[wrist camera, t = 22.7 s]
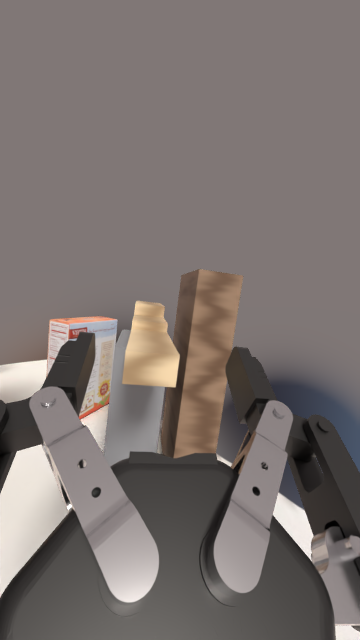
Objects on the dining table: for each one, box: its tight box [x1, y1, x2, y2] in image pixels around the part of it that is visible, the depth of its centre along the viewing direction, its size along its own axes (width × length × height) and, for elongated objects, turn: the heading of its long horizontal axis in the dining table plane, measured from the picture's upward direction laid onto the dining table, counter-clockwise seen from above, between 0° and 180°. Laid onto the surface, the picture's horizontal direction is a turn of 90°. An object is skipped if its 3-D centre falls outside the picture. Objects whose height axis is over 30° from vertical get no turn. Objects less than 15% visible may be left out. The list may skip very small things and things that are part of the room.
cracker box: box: [46, 316, 117, 419], centre depth 53 cm, size 14×6×21 cm, turn 157°
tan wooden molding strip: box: [122, 301, 180, 387], centre depth 30 cm, size 4×24×5 cm, turn 9°
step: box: [104, 330, 165, 466], centre depth 36 cm, size 6×12×22 cm, turn 9°
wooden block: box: [161, 269, 243, 458], centre depth 40 cm, size 6×14×32 cm, turn 9°
